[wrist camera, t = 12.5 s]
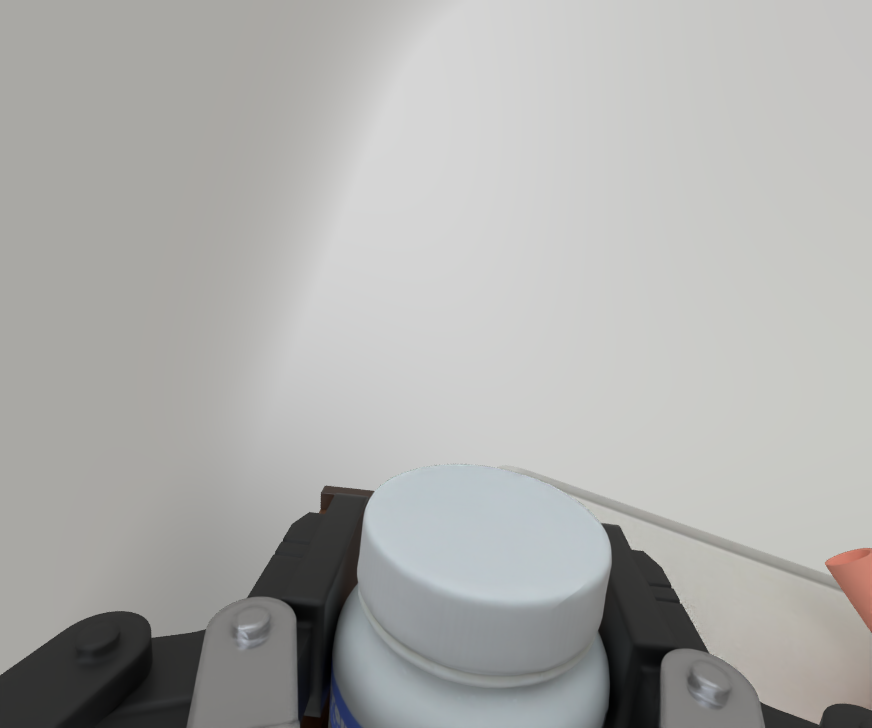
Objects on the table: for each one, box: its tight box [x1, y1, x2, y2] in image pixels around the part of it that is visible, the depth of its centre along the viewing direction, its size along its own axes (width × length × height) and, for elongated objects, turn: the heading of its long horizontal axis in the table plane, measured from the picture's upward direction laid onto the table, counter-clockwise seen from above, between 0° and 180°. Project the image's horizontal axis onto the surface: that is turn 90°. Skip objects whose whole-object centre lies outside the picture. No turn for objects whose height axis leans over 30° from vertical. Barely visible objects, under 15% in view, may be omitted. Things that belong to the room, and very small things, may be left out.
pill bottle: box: [328, 464, 612, 728], centre depth 10 cm, size 5×5×8 cm
